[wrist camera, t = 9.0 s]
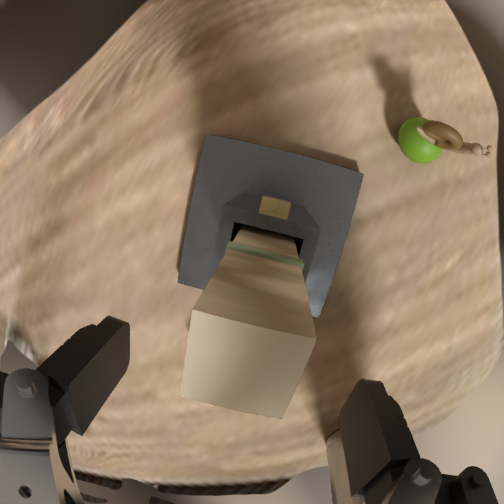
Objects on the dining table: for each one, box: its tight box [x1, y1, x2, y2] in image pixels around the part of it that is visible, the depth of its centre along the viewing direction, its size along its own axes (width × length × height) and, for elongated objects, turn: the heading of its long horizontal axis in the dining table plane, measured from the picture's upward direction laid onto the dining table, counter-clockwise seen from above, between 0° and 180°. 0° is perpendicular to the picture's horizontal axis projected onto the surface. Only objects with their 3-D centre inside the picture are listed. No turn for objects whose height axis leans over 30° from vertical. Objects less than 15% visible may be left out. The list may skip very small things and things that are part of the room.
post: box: [180, 224, 317, 419], centre depth 18 cm, size 4×4×18 cm
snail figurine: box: [398, 117, 492, 164], centre depth 24 cm, size 5×6×12 cm
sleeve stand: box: [178, 134, 364, 317], centre depth 27 cm, size 18×18×14 cm
